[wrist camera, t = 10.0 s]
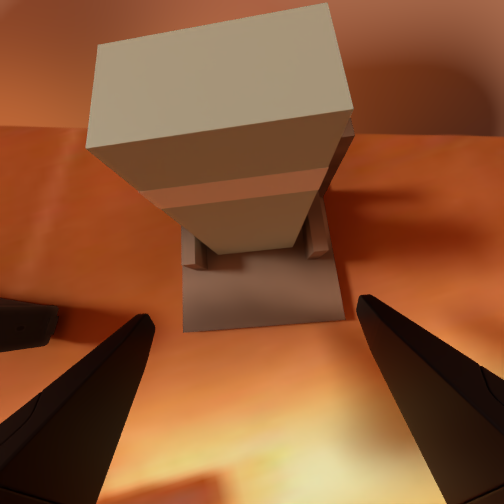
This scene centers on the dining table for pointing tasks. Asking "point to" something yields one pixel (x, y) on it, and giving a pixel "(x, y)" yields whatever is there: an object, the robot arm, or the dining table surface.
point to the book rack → (266, 275)
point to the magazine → (25, 324)
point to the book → (225, 123)
